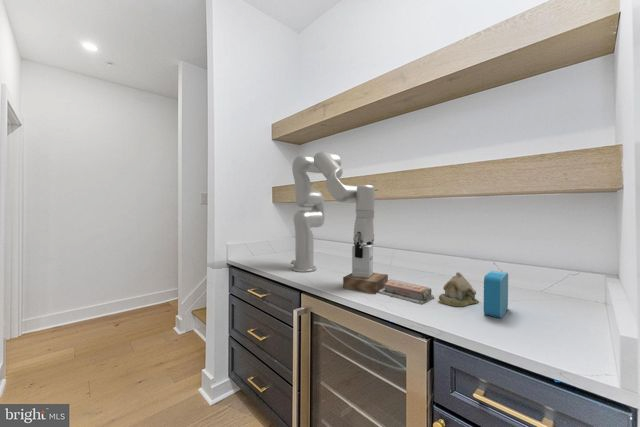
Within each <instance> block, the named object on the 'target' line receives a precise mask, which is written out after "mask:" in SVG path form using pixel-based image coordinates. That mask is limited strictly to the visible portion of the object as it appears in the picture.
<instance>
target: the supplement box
mask: <svg viewBox="0 0 640 427" xmlns="http://www.w3.org/2000/svg"><path fill="white" fill-rule="evenodd" d="M354 246H355V245H352V247H351V250H352V251H351V256H352V257H351V265H352V266H351V270H352V271H351V273H352V276H354V277H364V278H369V277H370V276H371V275H372V274H373V273H374V272H373V270H374V269H373V267H374V266H373V265H374V262H373V261H374V259H373V258H374V257H373V254H374V244H373V245H367V244H365V243H363V246H362V248H363V258H356V257H355V247H354Z"/></svg>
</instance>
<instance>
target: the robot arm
mask: <svg viewBox="0 0 640 427" xmlns="http://www.w3.org/2000/svg"><path fill="white" fill-rule="evenodd" d="M291 165H292V168H291V170H292V175H293V180H294V196H295V197H294V198H295V204H296V206H297V207H299V208H311V209H300V210H297V211H296V212H295V213H294V214H293V225H294V231H295V234H294V235H295V236H294V237H295V242H294V243H295V244H294V245H295V259H293V260H291V262H290V265H293V266H292V270H293V271H294V272H297V273H299V272H300V273H310V272H314V271H316V270H317V266H315V265H314V234H313V231H312V230H311V228H320V227H322V226H323V225H324V223H325V220H326V219H325V216H326V215H325V198H324V196H323V194H322V192H321V191H319V190H316V189H312V184H311V183H312V182H311V179H310V176H309V175H308V174H307V173H314V174H321V175H323V176H324V178H325V179H326V182H325V183H326V189H327V191H328V192H329V194H330V195H331V197H332V198H333V199H334V200H336V201H337V202H338V203H344V204H345V203H348V204H349V203H350V204H354V203H355V220H354V225H353V226H354V228H353V239H352V240H353V244H354V245H355V246H354V245H353V246H354V247H355V257H356V258H363V248H362V246H363V244H365V245H373V246H374V240H375V232H374V219H375V196H376V195H375V191H376V190H375V187H374V185H372V184H371V185H370V184H360V185H351V184H343V183H342V181H341V180H340V179H341V177H342V175H343V168H342V167H341V166H342V159H341V157H340V155H338V154H337V153H333V152H329V151H318V152H316V153H315V154H314V155H309V154H299V155H297V156H296V157H295V158H294V160H293V162H292V164H291Z"/></svg>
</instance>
